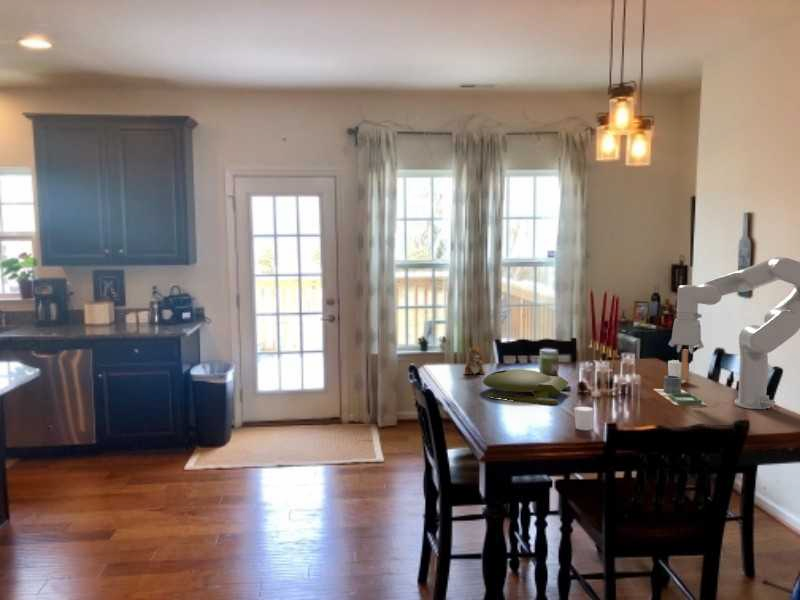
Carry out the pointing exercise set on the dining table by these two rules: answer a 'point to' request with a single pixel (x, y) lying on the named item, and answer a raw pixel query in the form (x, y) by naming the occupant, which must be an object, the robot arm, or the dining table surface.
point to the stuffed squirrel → (474, 362)
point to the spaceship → (526, 385)
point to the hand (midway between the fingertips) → (685, 362)
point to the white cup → (675, 368)
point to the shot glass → (584, 417)
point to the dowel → (684, 365)
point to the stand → (678, 392)
